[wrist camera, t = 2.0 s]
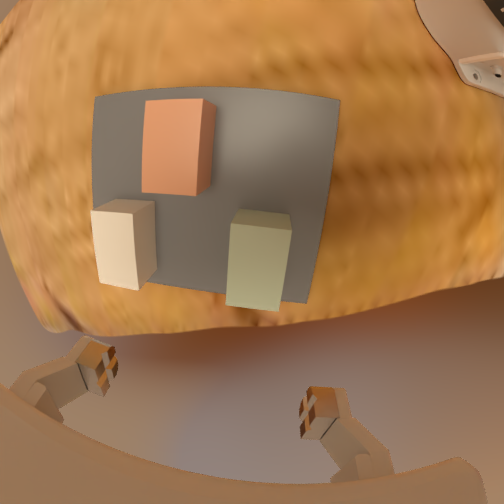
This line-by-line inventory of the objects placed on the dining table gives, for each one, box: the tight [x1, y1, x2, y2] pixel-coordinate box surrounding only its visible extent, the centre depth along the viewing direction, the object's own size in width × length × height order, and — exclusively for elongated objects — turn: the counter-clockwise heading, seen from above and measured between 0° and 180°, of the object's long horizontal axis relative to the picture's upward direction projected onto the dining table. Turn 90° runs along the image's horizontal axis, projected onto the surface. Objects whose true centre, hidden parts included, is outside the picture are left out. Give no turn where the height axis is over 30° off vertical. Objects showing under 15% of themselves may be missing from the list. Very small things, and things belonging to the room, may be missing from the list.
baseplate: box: [91, 87, 340, 304], centre depth 25 cm, size 26×22×6 cm
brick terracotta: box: [142, 99, 217, 196], centre depth 22 cm, size 5×8×5 cm, turn 174°
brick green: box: [226, 209, 292, 312], centre depth 26 cm, size 5×8×5 cm, turn 174°
